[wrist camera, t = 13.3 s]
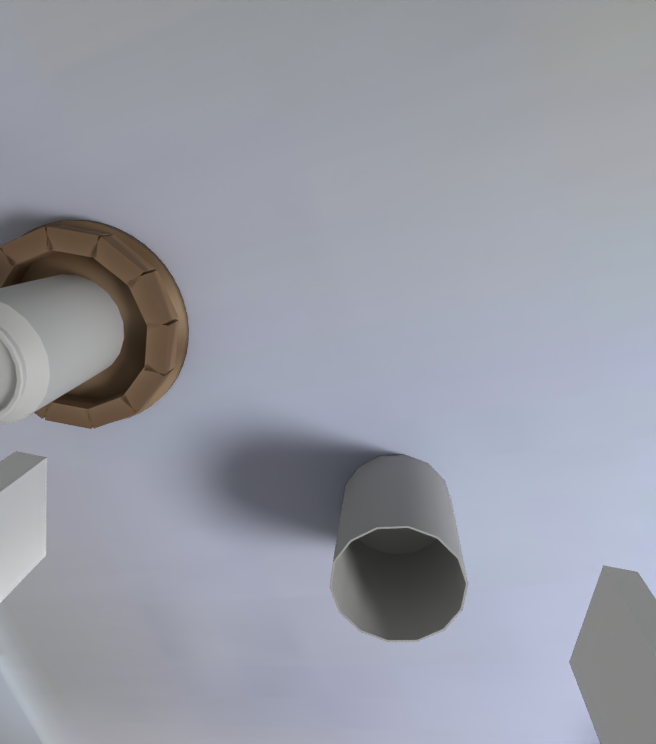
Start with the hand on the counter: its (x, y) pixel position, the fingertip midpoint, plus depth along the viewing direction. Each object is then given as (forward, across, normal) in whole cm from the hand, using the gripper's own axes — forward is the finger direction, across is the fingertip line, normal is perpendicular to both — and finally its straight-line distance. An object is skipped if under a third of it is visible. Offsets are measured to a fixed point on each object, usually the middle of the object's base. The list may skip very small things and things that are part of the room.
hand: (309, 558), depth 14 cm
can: (+28, -20, -4) cm, 35 cm away
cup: (+29, +5, -14) cm, 33 cm away
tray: (+29, -20, -4) cm, 35 cm away
